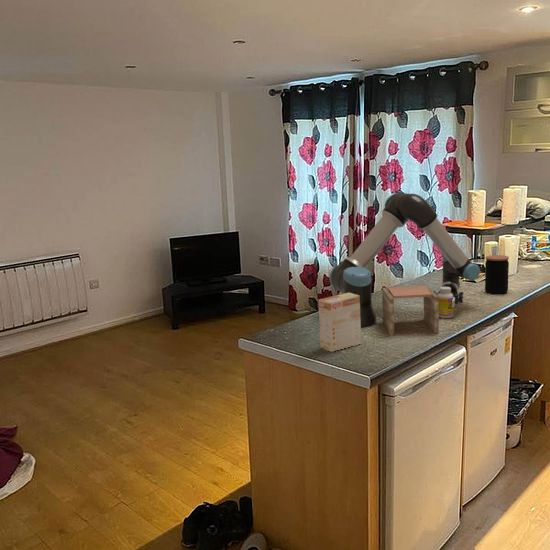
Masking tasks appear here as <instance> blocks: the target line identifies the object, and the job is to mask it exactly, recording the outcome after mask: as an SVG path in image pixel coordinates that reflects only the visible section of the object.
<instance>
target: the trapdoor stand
mask: <svg viewBox="0 0 550 550" xmlns="http://www.w3.org/2000/svg"><path fill="white" fill-rule="evenodd" d="M423 286H424V287H425V288H426V289H427V290H428V291H429V292H430V293H431V294H432V297H423V321H424V322H425V323H426V325H427V326H428V325H429V326H428V327H429V328H430V330H431V331H432V330H433V331H432V333H434V334H435V333H438V334H439V333H440V332H439V331H440V328H439V327H440V325H439V324H440V322H439V320H440V317H439V297H438V296H437V295H436V294H435V293H434V292H433V291H434V290H432V289H431V288H430V287H429V286H428V285H423ZM381 289H382V291H381V295H382V296H381V297H382V322H383V325H384V326H385V329H386V330H387V331H388V334H389V335H390V336H395V298H393V297H392V295H391V294H390V292H389V291H388V289H387V288H386V287H381Z"/></svg>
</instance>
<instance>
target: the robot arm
mask: <svg viewBox="0 0 550 550" xmlns="http://www.w3.org/2000/svg"><path fill="white" fill-rule="evenodd" d="M381 214H382V215H381V217H380V219H379V220H378V221H377V222H376V224H375V225H374V227H372V228H371V230H370V231H369V233H368V234H367V235H366V237H365V238H364V239H363V241H362V242H361V243H360V244H359V246H357V248H356V249H355V251H354V252H353V253H352V255H351V256H350V257H345V258H344V259H343V260H342V262H341V263H340V264H336V265H334V267H333V268H332V269H331V270H330V272H329V277H328V278H329V282H330V285H331V287H333V289H335V290H336V291H338V292H340V293H341V294H345V293H352V294H356V295H360V320H361V328H364V327H366V328H367V327H370V326H374V325H375V324H377V315H376V313H375V311H374V308H373V305H372V303H373V302H372V275H371V271H370V270H369V269H367V267H368V266H369V265H370V263H371V262H372V261H373V260H374V258H375V257H376V256H377V255H378V253H380V251H381V249H382V248H383V247H384V246H385V245H386V243H387V242H388V241H389V239H390V238H391V237H392V235H393V234H394V233H395V232H396V230H398V229H400V228H403V227H404V226H405V225H406V223H407V222H408V221H410V222H412V223H414V224H415V226H416V227H417V228H418V229H420V230H421V229H422V230H423V231H424V233H425V234H426V235H427V236H428V238H429V239H430V240H431V241H432V243H433V244H434V245H435V247H436V248H438V250H439V251H440V253H441V254H442V261H441V262H442V285H441V287H450V288H451V292H450V293H452V294H453V300H452V307H453V308H455V305H458V303H460V304H463V298H464V292H463V291H461V292H459V289H460V286H461V285H460V284H461V283H460V278H461V279H464V280H469V281H475V280H476V279H478V278H479V276H480V274H481V273H480V272H481V268H480V267H479V265H478V264H476V263H473V262H472V261H471V260H470V259H469V257H467V255H466V254H465V252H464V251H463V250H462V249H461V247H460V246H459V245H458V243H457V242H456V241H455V240H454V238H453V237H452V235H451V234H450V233H449V232H448V231H447V229H446V228H445V227H444V225H443V223H442V222H441V221H440V220H439V219H438V214H437V212H436V211H435V210H434V208H433V207H432V206H431V205H430V203H428V201H427V200H426V199H424V198H423V197H422V196H421V195H419V194H416V193H406V192H401V191H400V192H396V193H393V194H392V193H391V195H389V196H388V197H387V199H386V200H385V203H384V208H383V210H382V211H381ZM432 291H433V292H434V293H435V294H436V295H438V294H439V293H440V290H439V291H438V292H437V291H436V290H432Z"/></svg>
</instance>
